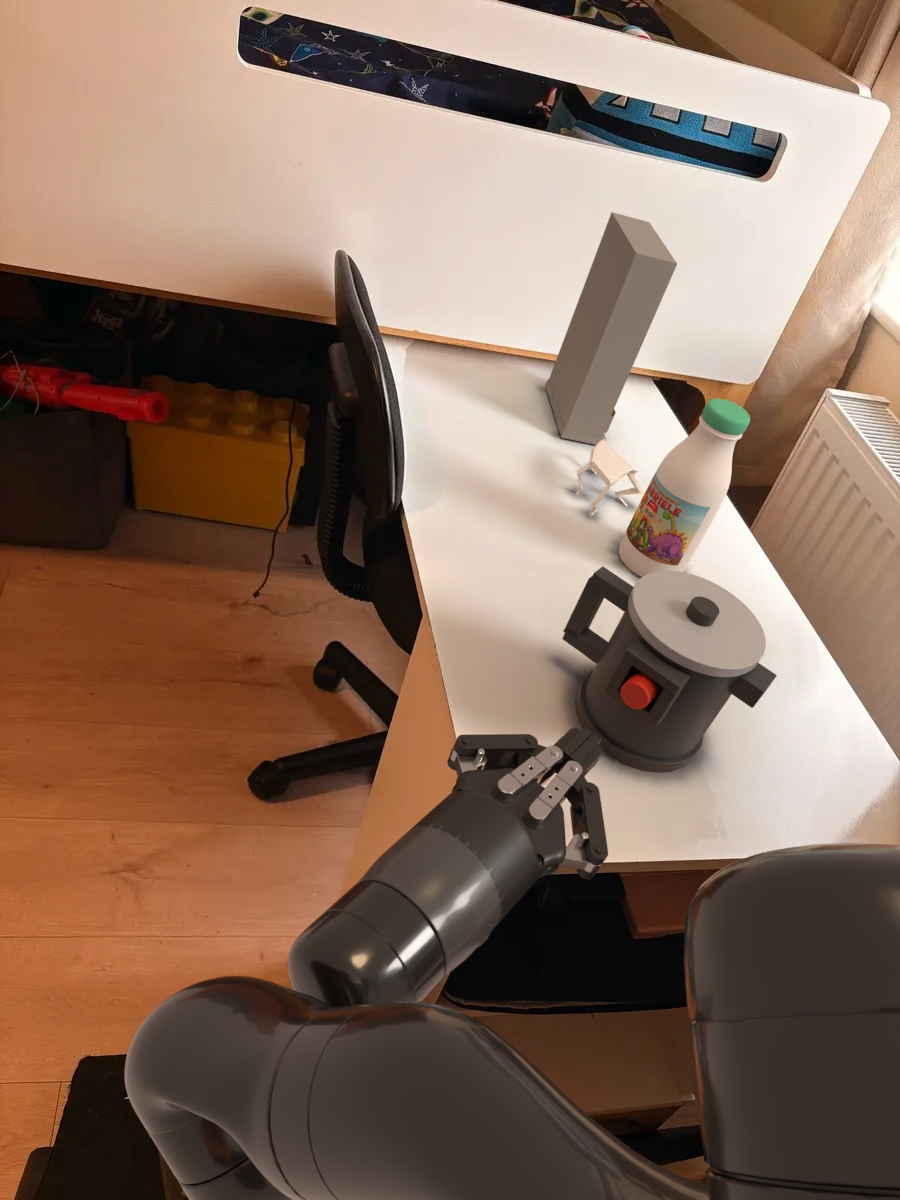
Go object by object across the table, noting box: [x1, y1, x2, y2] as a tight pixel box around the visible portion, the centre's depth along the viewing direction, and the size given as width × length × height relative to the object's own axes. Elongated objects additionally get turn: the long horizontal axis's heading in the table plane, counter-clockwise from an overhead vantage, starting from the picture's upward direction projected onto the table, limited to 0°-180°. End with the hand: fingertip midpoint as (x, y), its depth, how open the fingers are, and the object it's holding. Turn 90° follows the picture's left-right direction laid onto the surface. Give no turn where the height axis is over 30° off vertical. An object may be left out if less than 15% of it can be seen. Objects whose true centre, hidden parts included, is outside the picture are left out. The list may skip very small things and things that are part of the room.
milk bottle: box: [618, 398, 751, 578], centre depth 95 cm, size 8×8×20 cm
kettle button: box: [621, 674, 657, 709], centre depth 71 cm, size 2×2×2 cm
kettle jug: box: [561, 566, 777, 773], centre depth 77 cm, size 13×17×14 cm
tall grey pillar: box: [544, 211, 678, 446], centre depth 115 cm, size 14×6×25 cm, turn 4°
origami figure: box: [575, 439, 644, 517], centre depth 109 cm, size 12×8×5 cm
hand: (589, 739), depth 65 cm, fingers closed
